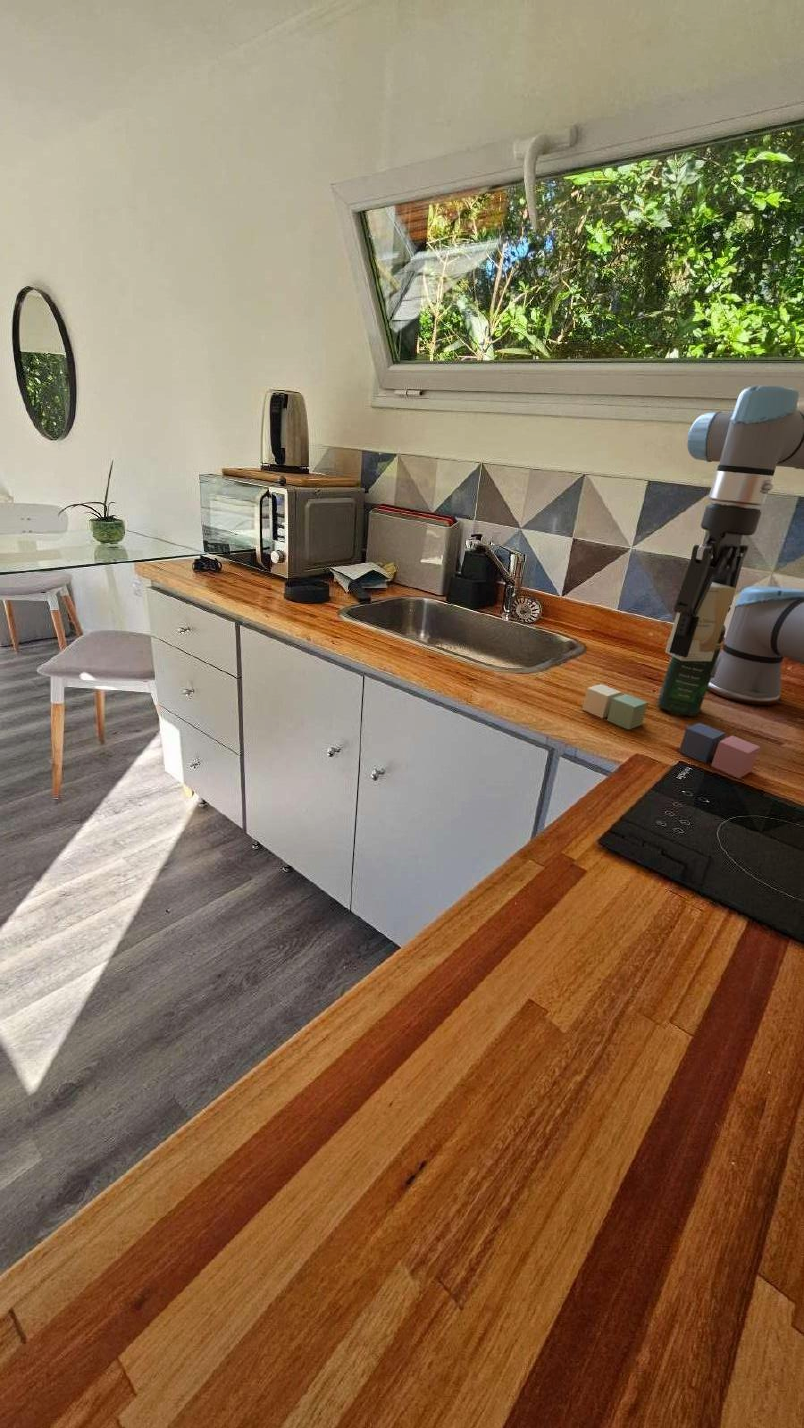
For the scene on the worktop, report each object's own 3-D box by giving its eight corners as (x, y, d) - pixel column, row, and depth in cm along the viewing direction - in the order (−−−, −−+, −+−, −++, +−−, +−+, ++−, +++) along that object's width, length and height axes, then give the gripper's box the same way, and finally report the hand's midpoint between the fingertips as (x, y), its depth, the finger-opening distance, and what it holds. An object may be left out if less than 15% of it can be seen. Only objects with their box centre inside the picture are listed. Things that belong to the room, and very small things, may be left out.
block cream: (595, 705, 116) (600, 683, 114) (615, 713, 113) (621, 691, 111) (582, 709, 113) (587, 687, 111) (602, 718, 110) (607, 696, 108)
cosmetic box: (681, 662, 95) (704, 586, 90) (663, 653, 99) (684, 579, 94) (713, 661, 97) (737, 587, 92) (695, 653, 101) (717, 581, 96)
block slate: (691, 746, 102) (699, 722, 101) (717, 757, 99) (725, 732, 98) (678, 752, 100) (686, 728, 98) (704, 763, 97) (713, 738, 95)
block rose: (723, 759, 99) (731, 735, 97) (751, 771, 96) (760, 746, 94) (710, 766, 96) (719, 741, 94) (739, 778, 93) (748, 753, 91)
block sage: (620, 715, 112) (626, 693, 110) (641, 724, 109) (648, 702, 107) (606, 720, 109) (612, 698, 108) (628, 730, 106) (634, 707, 104)
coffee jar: (698, 721, 113) (728, 627, 105) (654, 710, 116) (681, 617, 108) (700, 705, 121) (729, 616, 113) (659, 695, 124) (685, 608, 116)
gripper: (730, 506, 80) (681, 667, 89) (787, 509, 92) (739, 650, 101) (677, 499, 85) (636, 652, 94) (738, 503, 97) (697, 637, 106)
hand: (690, 651), depth 98 cm, fingers closed on cosmetic box, 7 cm apart
